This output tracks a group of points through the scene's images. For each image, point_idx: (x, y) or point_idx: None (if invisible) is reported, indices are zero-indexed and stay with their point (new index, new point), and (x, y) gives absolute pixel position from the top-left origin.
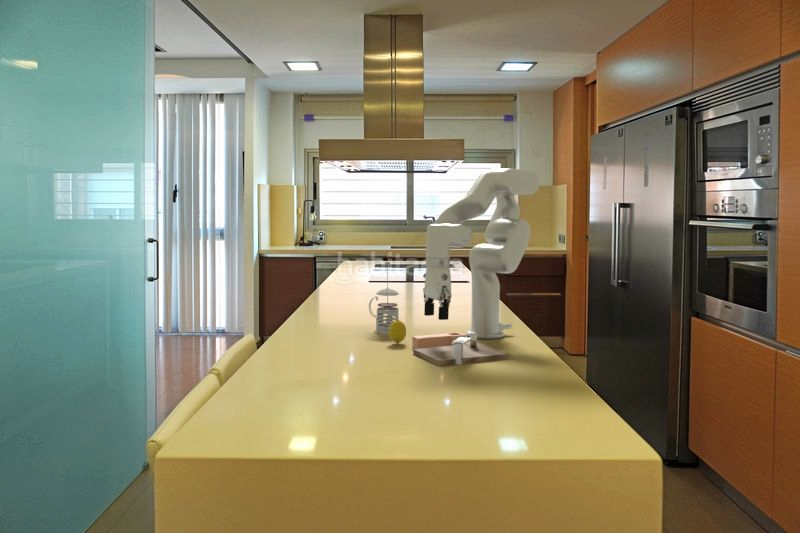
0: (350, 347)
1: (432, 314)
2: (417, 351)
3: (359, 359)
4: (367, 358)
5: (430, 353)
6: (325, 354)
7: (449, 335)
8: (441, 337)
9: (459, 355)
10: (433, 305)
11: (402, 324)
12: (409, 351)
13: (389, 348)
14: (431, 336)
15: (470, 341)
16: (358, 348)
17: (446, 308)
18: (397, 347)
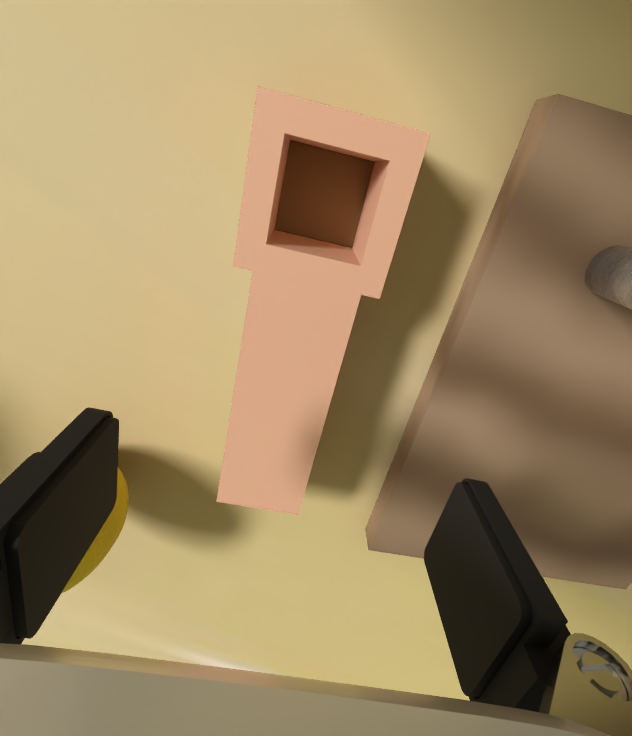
0: (88, 625)
1: (115, 435)
2: (415, 555)
3: (305, 676)
4: (309, 658)
5: None
6: None
7: (348, 290)
8: (339, 364)
9: None
10: (42, 517)
11: None
12: (304, 511)
13: (190, 538)
14: (291, 418)
15: (624, 306)
16: (123, 615)
17: (561, 642)
18: (188, 504)
